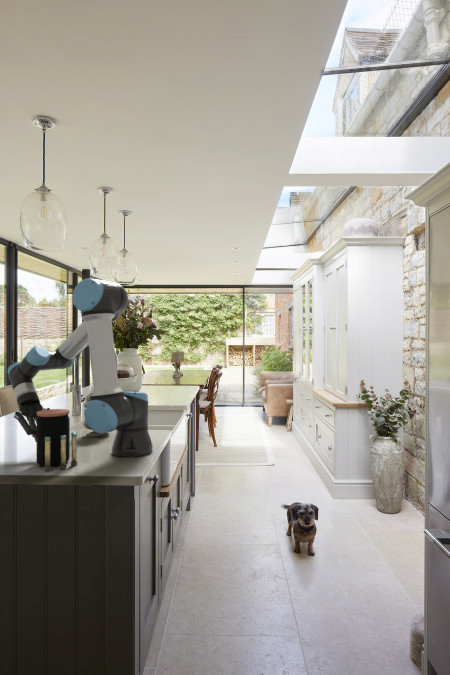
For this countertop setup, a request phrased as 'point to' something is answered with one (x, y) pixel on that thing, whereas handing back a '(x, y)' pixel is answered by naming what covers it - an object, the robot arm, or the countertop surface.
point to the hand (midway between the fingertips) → (44, 448)
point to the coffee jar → (52, 435)
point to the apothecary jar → (91, 434)
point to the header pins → (63, 452)
